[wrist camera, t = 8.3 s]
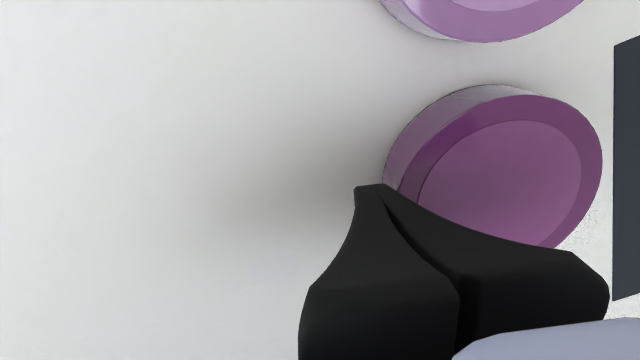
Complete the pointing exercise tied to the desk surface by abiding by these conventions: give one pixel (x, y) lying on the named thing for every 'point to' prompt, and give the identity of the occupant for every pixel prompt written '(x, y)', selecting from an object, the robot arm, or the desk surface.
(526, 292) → the robot arm
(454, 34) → the light purple flat disc
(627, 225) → the placemat
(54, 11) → the desk surface
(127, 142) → the desk surface
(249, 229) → the desk surface
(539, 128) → the plum dish
